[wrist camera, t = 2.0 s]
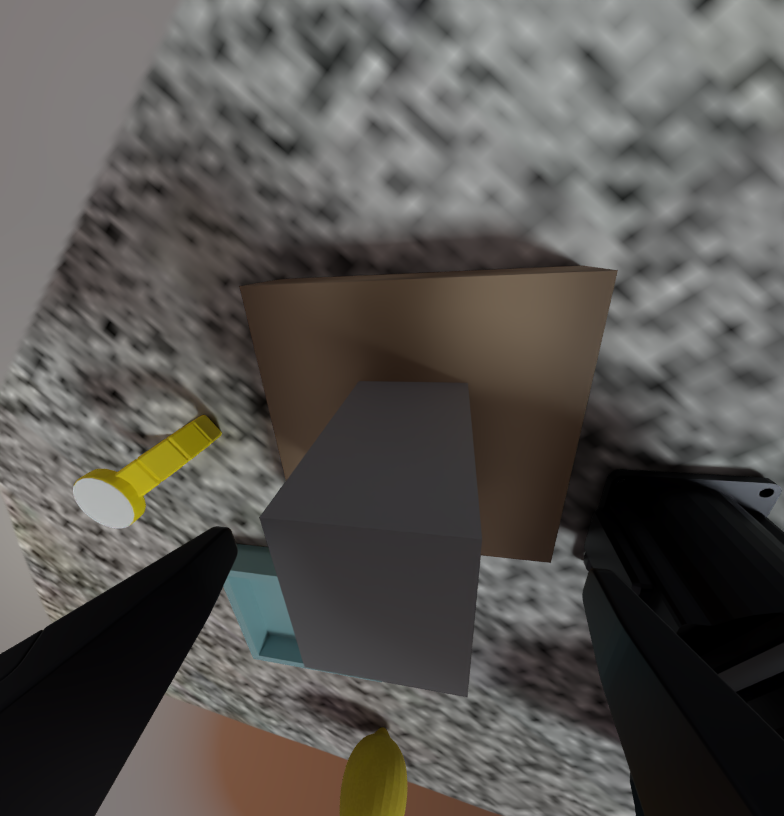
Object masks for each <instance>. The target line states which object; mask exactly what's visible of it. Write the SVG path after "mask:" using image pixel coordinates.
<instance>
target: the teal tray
mask: <svg viewBox="0 0 784 816" xmlns="http://www.w3.org/2000/svg"><path fill="white" fill-rule="evenodd" d="M236 545H237V548H238V554H237V558H236V560H235V562H234V564H233V566H232V569H231V571H230V573H229V575H228V577H227V579H226V581H225V584H224V586H223V587H224V589H225V591H226V594H227V596H228V599H229V601H230V603H231V606H232V608H233V611H234V613H235V615H236V618H237V620H238V623H239V625H240V628H241V630H242V632H243V635H244V637H245V640H246V642H247V644H248V647H249V649H250V652H251V654H252V656H253V659H258V660H263V661H269V662H274V663H280V664H285V665H290V666H296V667H301V668H305V667H304V664H303V660H302V657H301V654H300V650H299V647H298V644H297V641H296V637H295V634H294V631H293V627H292V624H291V621H290V617H289V614H288V611H287V607H286V604H285V601H284V597H283V594H282V591H281V588H280V584H279V581H278V578H277V574H276V571H275V568H274V564H273V561H272V558H271V554H270V551H269V548H268V547H261V546H252V545H243V544H236ZM307 669H311V668H307ZM312 670H316V669H312ZM318 671H322V670H318ZM323 672H327V671H323ZM329 673H333V672H329ZM334 674H338V673H334ZM339 675H344V674H339ZM345 676H349V675H345ZM350 677H354V676H350ZM356 678H360V677H356ZM361 679H365V678H361ZM367 680H371V679H367ZM372 681H376V680H372ZM377 682H382V681H377Z"/></svg>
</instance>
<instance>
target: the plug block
mask: <svg viewBox="0 0 784 816" xmlns="http://www.w3.org/2000/svg"><path fill="white" fill-rule="evenodd" d="M259 518H260V521H261V525H262V528H263V531H264V534H265V538H266V541H267V544H268V548H269V551H270V554H271V558H272V561H273V564H274V568H275V571H276V574H277V578H278V581H279V584H280V588H281V591H282V594H283V597H284V601H285V604H286V607H287V611H288V614H289V617H290V621H291V624H292V627H293V631H294V634H295V637H296V641H297V644H298V647H299V650H300V654H301V657H302V660H303V664H304V667H305V668H311V669H316V670H322V671H327V672H333V673H338V674H344V675H349V676H354V677H360V678H365V679H371V680H376V681H382V682H387V683H393V684H398V685H404V686H409V687H414V688H420V689H425V690H431V691H436V692H442V693H447V694H453V695H458V696H464V697H467V696H468V685H469V674H470V664H471V653H472V642H473V632H474V621H475V610H476V600H477V589H478V578H479V568H480V557H481V546H482V532H481V521H480V510H479V499H478V488H477V477H476V466H475V455H474V444H473V433H472V422H471V411H470V400H469V389H468V383H446V382H379V381H359V382H358V383H357V384H356V386H355V387H354V388H353V390H352V391H351V393H350V394H349V395H348V397H347V398H346V399H345V401H344V402H343V404H342V405H341V406H340V408H339V409H338V410H337V412H336V413H335V415H334V416H333V417H332V419H331V420H330V421H329V423H328V424H327V425H326V427H325V428H324V430H323V431H322V432H321V434H320V435H319V436H318V438H317V439H316V441H315V442H314V443H313V445H312V446H311V447H310V449H309V450H308V452H307V453H306V454H305V456H304V457H303V458H302V460H301V461H300V462H299V464H298V465H297V467H296V468H295V469H294V471H293V472H292V473H291V475H290V476H289V478H288V479H287V480H286V482H285V483H284V484H283V486H282V487H281V488H280V490H279V491H278V493H277V494H276V495H275V497H274V498H273V499H272V501H271V502H270V504H269V505H268V506H267V508H266V509H265V510H264V512H263V513H262V515H261V516H260V517H259Z"/></svg>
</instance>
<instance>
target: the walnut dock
mask: <svg viewBox="0 0 784 816" xmlns="http://www.w3.org/2000/svg"><path fill="white" fill-rule="evenodd" d="M617 271H618V270H611V269H603V268H596V267H589V266H561V267H539V268H516V269H494V270H472V271H450V272H428V273H406V274H383V275H361V276H339V277H317V278H295V279H278V280H272V281H267V282H261V283H255V284H250V285H244V286H239V287H240V291H241V295H242V299H243V304H244V308H245V312H246V316H247V320H248V324H249V329H250V333H251V337H252V341H253V345H254V349H255V354H256V358H257V362H258V366H259V370H260V375H261V379H262V383H263V387H264V391H265V395H266V400H267V404H268V408H269V412H270V416H271V420H272V425H273V429H274V433H275V437H276V441H277V445H278V450H279V454H280V458H281V462H282V466H283V471H284V475H285V479H286V480H287V479H288V478H289V476H290V475H291V473H292V472H293V471H294V469H295V468H296V467H297V465H298V464H299V462H300V461H301V460H302V458H303V457H304V456H305V454H306V453H307V452H308V450H309V449H310V447H311V446H312V445H313V443H314V442H315V441H316V439H317V438H318V436H319V435H320V434H321V432H322V431H323V430H324V428H325V427H326V425H327V424H328V423H329V421H330V420H331V419H332V417H333V416H334V415H335V413H336V412H337V410H338V409H339V408H340V406H341V405H342V404H343V402H344V401H345V399H346V398H347V397H348V395H349V394H350V393H351V391H352V390H353V388H354V387H355V386H356V384H357V383H358V382H359V381H379V382H446V383H468V389H469V400H470V411H471V422H472V433H473V444H474V455H475V466H476V477H477V488H478V499H479V510H480V521H481V532H482V546H481V555H483V556H493V557H502V558H511V559H521V560H530V561H539V562H549V563H551V559H552V555H553V551H554V546H555V542H556V538H557V533H558V529H559V525H560V520H561V516H562V511H563V507H564V503H565V498H566V494H567V490H568V485H569V481H570V476H571V472H572V468H573V463H574V459H575V455H576V450H577V446H578V442H579V437H580V433H581V428H582V424H583V420H584V415H585V411H586V407H587V402H588V398H589V393H590V389H591V385H592V380H593V376H594V372H595V367H596V363H597V359H598V354H599V350H600V345H601V341H602V337H603V332H604V328H605V324H606V319H607V315H608V310H609V306H610V302H611V297H612V293H613V289H614V284H615V280H616V276H617Z"/></svg>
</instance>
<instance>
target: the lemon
mask: <svg viewBox="0 0 784 816" xmlns="http://www.w3.org/2000/svg"><path fill="white" fill-rule="evenodd" d="M406 800H407V773H406V765H405V761H404V758H403V755H402V753H401V751H400V749H399V747H398V745H397V744H396V743H395V742H394V741H393V740H392V739H391V738H390V736H389V734H388V731H387V729H386V728H383V727H381V728H379V729H378V730H377V731H376V732H375V733H374V734H371V735H368V736H366V737H364V738H363V739H362V740H361V741H360V742H359V743H358V744H357V745H356V747H355V748H354V750H353V751H352V753H351V755H350V757H349V760H348V762H347V765H346V769H345V772H344V776H343V781H342V787H341V796H340V816H404V813H405V808H406Z"/></svg>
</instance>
